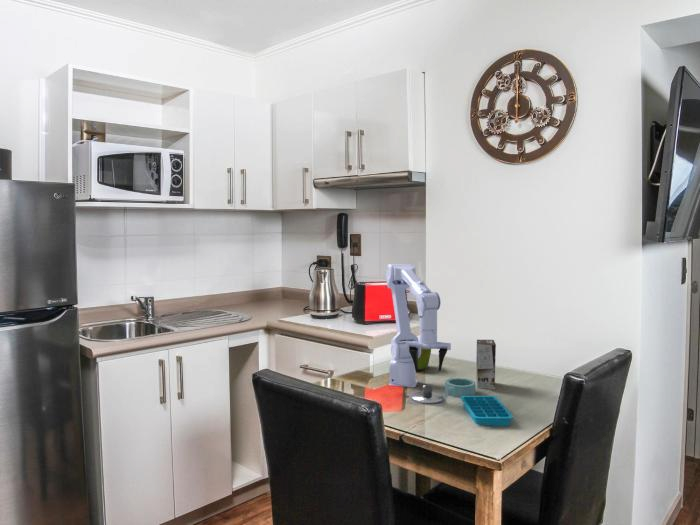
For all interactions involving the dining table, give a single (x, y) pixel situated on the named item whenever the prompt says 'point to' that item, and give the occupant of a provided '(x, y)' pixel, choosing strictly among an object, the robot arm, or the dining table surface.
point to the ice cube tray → (487, 410)
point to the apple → (424, 358)
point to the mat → (427, 404)
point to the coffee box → (485, 364)
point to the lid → (427, 396)
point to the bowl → (460, 387)
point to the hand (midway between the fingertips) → (428, 370)
